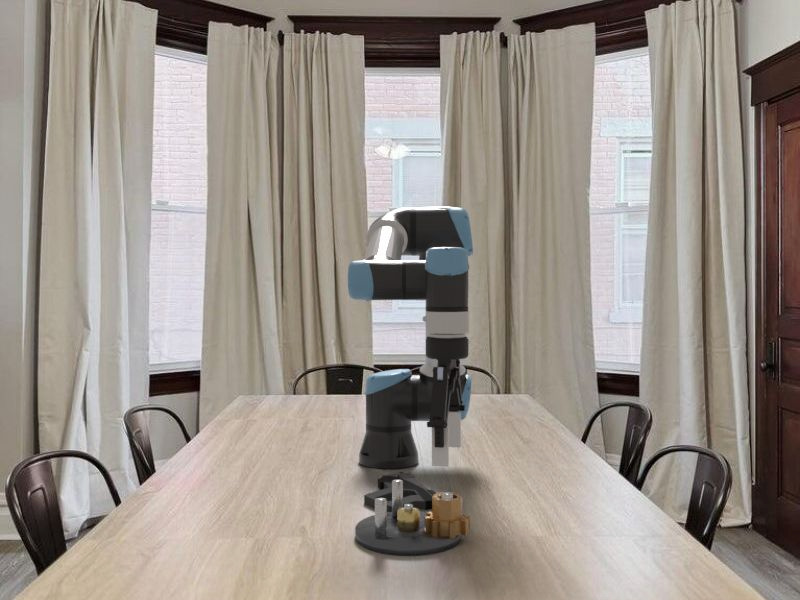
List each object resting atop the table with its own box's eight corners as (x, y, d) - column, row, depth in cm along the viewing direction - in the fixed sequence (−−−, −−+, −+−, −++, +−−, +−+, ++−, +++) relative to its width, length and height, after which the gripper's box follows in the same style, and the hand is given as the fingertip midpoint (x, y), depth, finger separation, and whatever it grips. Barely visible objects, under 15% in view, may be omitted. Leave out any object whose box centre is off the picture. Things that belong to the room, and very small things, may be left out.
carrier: (371, 515, 138) (371, 474, 138) (468, 522, 133) (468, 480, 133) (341, 550, 119) (340, 503, 119) (452, 560, 115) (452, 511, 115)
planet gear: (429, 521, 129) (429, 489, 129) (472, 524, 127) (472, 491, 127) (421, 536, 122) (421, 501, 122) (466, 539, 120) (466, 504, 120)
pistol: (373, 508, 137) (447, 501, 141) (348, 474, 161) (412, 469, 165) (373, 519, 137) (447, 512, 141) (348, 484, 161) (412, 479, 165)
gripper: (438, 330, 137) (438, 438, 138) (410, 341, 113) (410, 473, 113) (477, 330, 135) (477, 440, 136) (457, 342, 111) (457, 476, 112)
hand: (447, 455), depth 125 cm, fingers open, 13 cm apart
